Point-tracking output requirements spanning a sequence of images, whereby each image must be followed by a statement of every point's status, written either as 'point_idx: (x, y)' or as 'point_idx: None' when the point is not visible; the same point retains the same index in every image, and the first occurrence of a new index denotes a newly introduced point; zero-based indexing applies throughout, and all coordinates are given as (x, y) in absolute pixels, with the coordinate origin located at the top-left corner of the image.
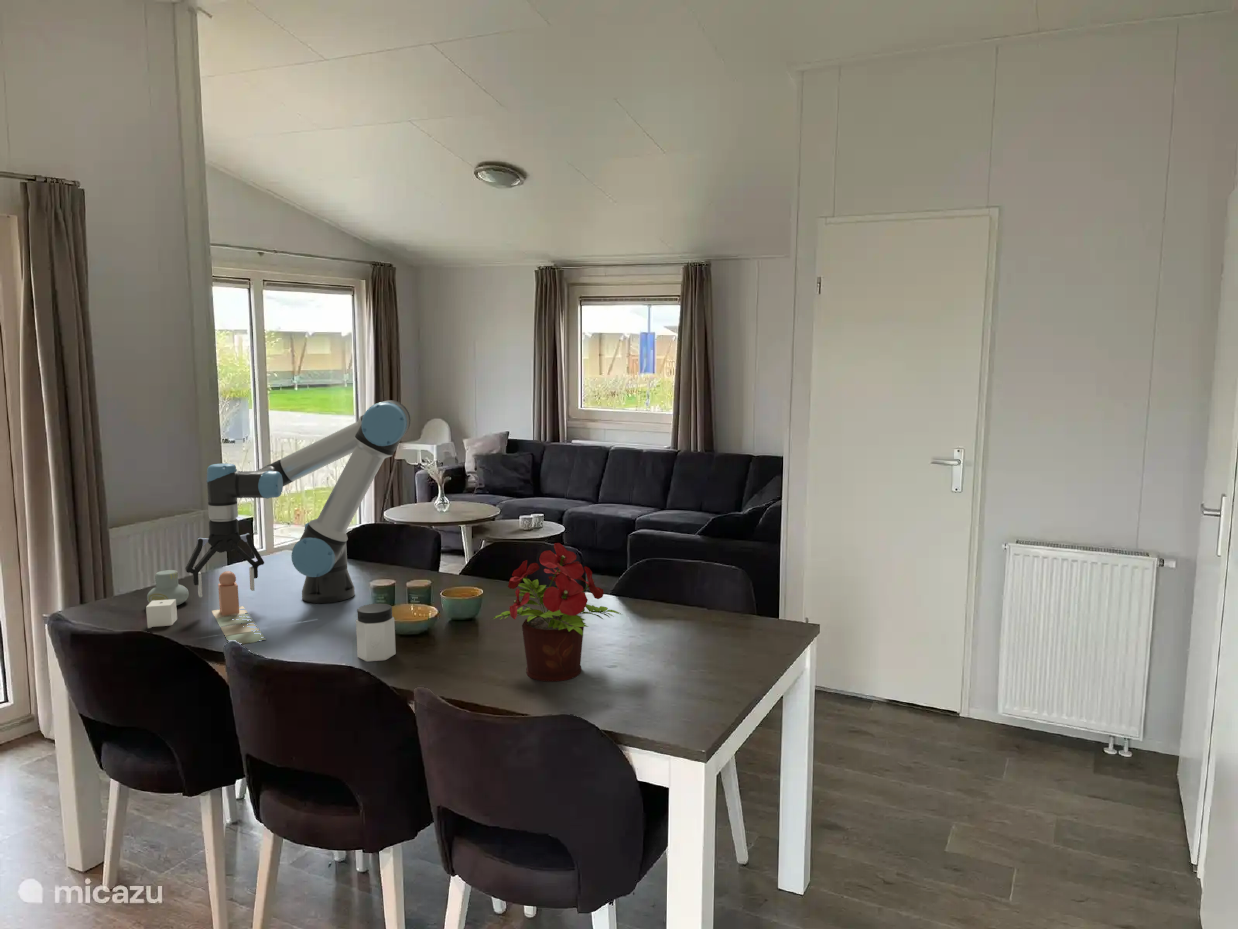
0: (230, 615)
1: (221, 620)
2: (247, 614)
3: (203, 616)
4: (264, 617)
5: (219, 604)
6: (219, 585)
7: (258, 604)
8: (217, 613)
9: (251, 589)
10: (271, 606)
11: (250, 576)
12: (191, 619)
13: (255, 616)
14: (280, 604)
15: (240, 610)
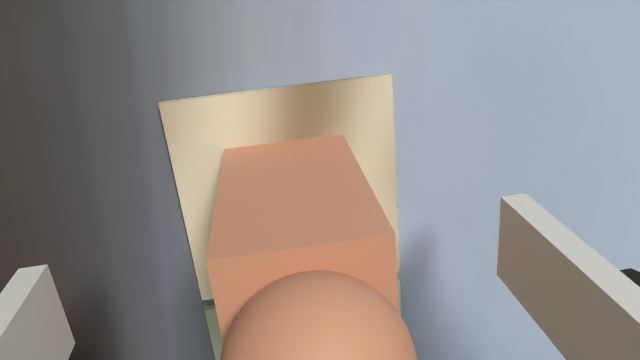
0: None
1: None
2: None
3: (115, 200)
4: (470, 352)
5: (221, 172)
6: (224, 334)
7: (500, 43)
8: (209, 198)
9: (502, 271)
10: (563, 140)
11: (575, 323)
12: (40, 240)
13: (430, 318)
14: (626, 115)
15: None
